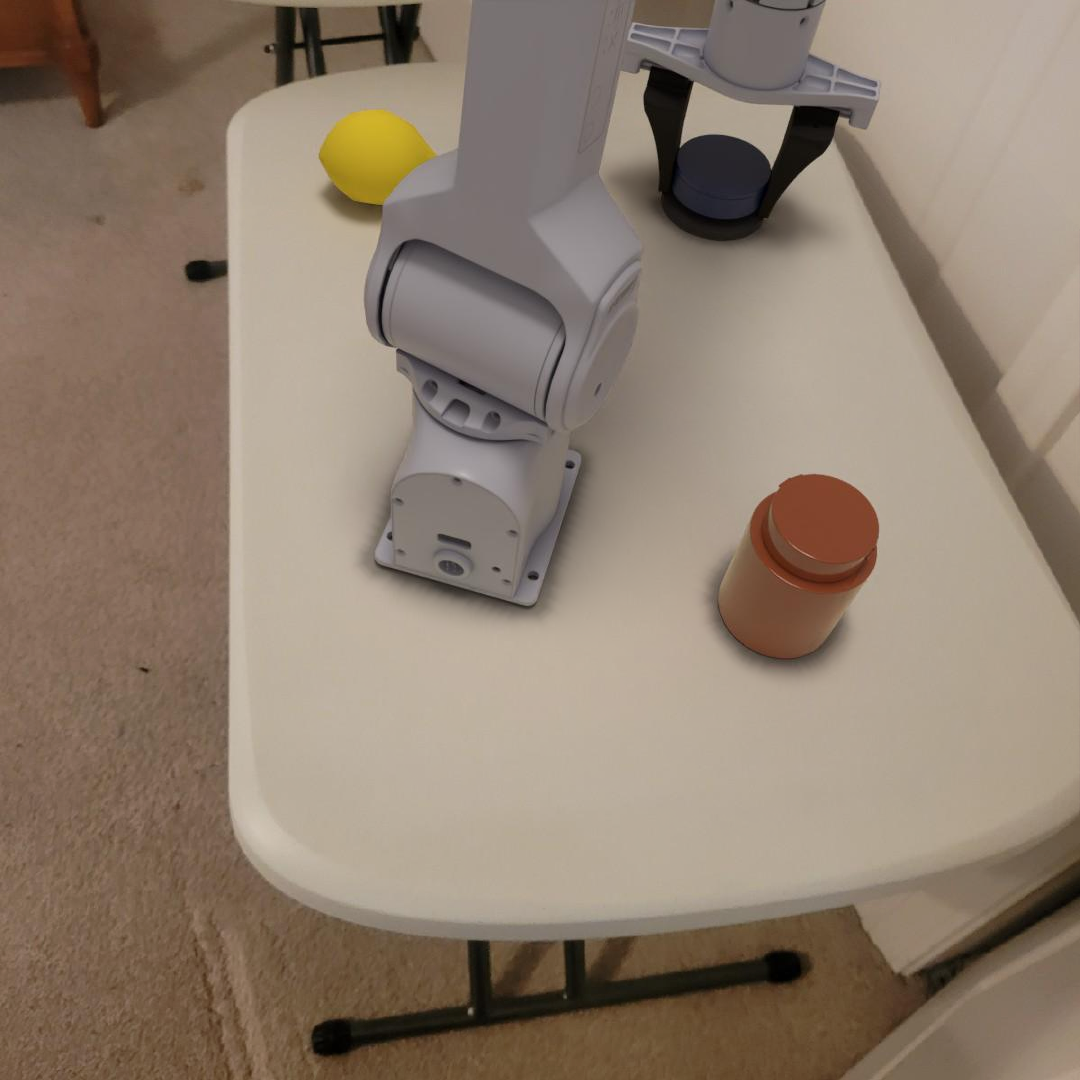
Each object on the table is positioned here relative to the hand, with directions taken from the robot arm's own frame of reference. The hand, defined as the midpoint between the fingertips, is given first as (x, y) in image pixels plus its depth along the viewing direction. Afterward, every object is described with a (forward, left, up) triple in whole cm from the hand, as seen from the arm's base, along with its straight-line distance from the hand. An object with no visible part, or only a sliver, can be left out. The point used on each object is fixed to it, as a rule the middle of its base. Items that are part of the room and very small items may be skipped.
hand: (715, 196), depth 65 cm
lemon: (-7, +20, -1) cm, 21 cm away
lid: (0, 0, +2) cm, 2 cm away
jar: (-29, -8, -1) cm, 30 cm away
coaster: (0, 0, -1) cm, 1 cm away
